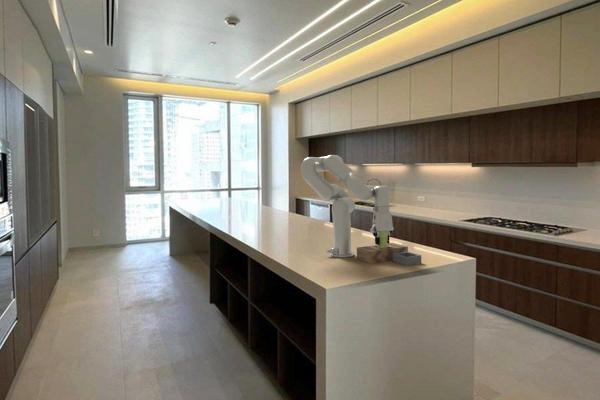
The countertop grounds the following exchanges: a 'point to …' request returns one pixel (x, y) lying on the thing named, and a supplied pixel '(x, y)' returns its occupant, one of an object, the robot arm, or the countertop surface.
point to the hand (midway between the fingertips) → (382, 243)
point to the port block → (379, 252)
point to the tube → (383, 240)
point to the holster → (406, 258)
